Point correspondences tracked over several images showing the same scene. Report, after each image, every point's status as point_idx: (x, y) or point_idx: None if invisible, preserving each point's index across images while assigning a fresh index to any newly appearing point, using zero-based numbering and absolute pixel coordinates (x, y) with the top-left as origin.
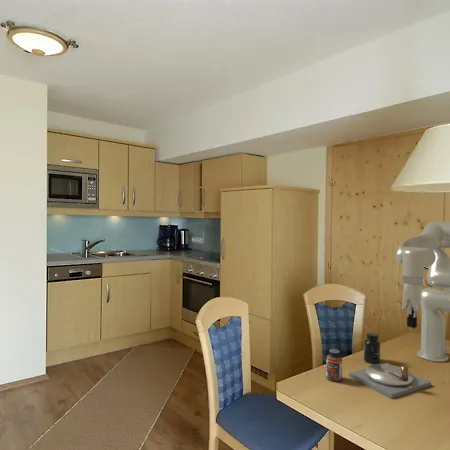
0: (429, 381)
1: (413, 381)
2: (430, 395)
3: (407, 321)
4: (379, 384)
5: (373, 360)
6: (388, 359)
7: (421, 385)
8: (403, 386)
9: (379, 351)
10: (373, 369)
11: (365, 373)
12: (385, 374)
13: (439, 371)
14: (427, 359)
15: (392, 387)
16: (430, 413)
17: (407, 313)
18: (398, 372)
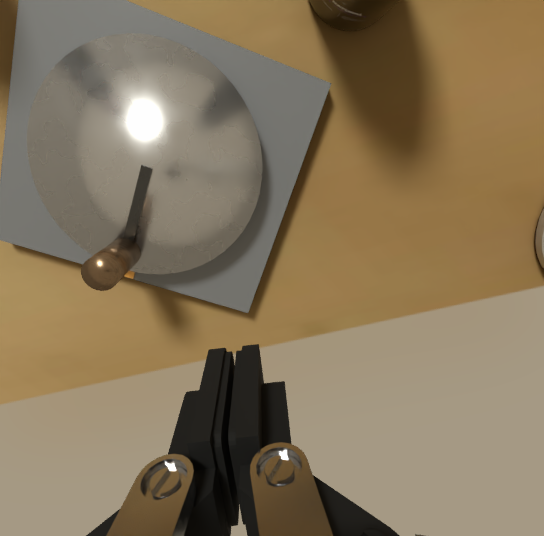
0: (248, 307)
1: None
2: (162, 326)
3: (201, 389)
4: None
5: (314, 1)
6: (437, 54)
7: (189, 294)
8: None
9: (364, 10)
10: (119, 83)
11: None
12: (110, 162)
13: (424, 292)
14: (540, 220)
15: None
16: (29, 360)
17: (113, 527)
18: (188, 202)
